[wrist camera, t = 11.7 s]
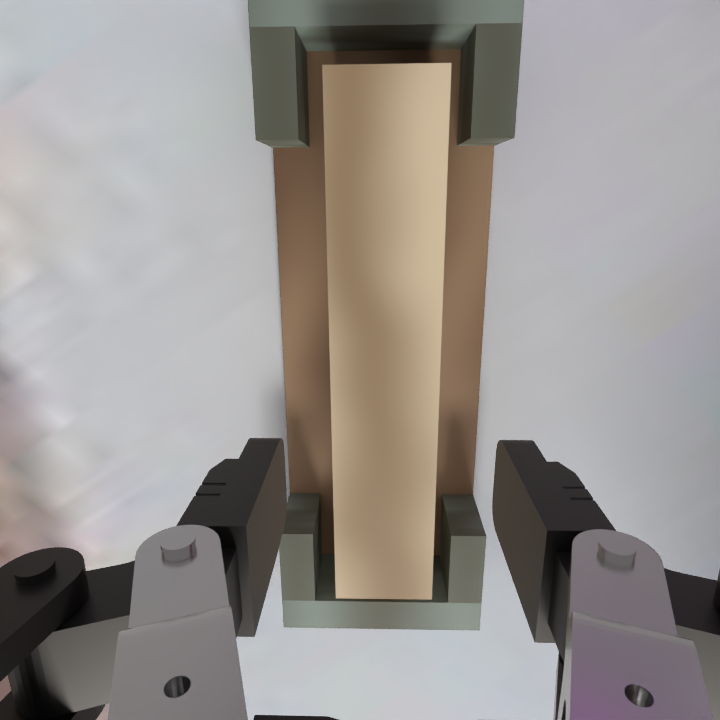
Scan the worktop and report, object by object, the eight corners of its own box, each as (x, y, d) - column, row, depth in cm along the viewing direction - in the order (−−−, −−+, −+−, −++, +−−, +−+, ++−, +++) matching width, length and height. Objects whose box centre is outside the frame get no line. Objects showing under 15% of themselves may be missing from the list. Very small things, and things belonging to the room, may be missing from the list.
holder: (499, 9, 21) (526, -31, 18) (465, 572, 29) (479, 630, 25) (269, 12, 22) (246, -26, 18) (295, 570, 29) (283, 627, 25)
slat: (434, 91, 22) (451, 62, 17) (422, 528, 28) (431, 599, 23) (334, 92, 22) (322, 64, 17) (342, 528, 28) (335, 598, 23)
